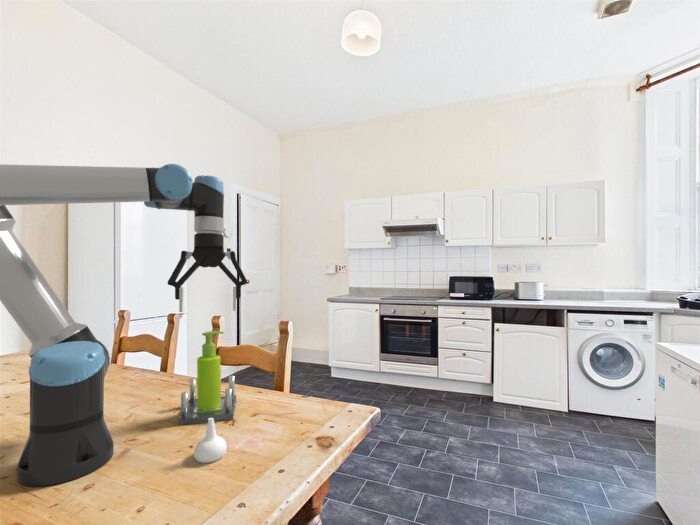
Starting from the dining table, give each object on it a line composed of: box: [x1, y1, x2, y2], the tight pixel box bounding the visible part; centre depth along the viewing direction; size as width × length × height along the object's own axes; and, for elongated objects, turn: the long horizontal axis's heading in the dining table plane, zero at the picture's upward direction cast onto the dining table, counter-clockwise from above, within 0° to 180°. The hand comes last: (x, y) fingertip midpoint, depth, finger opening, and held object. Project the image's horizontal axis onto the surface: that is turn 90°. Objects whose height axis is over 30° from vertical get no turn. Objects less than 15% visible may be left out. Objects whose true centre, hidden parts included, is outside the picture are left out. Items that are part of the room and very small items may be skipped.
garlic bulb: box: [193, 418, 228, 464], centre depth 75 cm, size 6×6×8 cm
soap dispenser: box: [196, 330, 225, 410], centre depth 98 cm, size 6×7×20 cm
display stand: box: [177, 375, 237, 426], centre depth 98 cm, size 14×13×8 cm
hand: (208, 311), depth 99 cm, fingers open, 13 cm apart
